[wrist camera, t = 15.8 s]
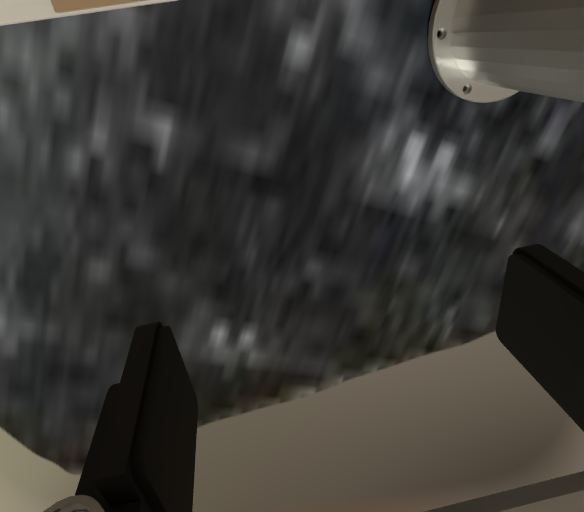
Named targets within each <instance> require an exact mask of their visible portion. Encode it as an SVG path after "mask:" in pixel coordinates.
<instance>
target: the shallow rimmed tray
mask: <svg viewBox="0 0 584 512" xmlns="http://www.w3.org/2000/svg"><path fill="white" fill-rule="evenodd" d="M170 1H177V0H0V26H3V25H10V24H17V23H24V22H31V21H38V20H45V19H52V18H59V17H66V16H73V15H80V14H87V13H94V12H101V11H108V10H114V9H121V8H128V7H135V6H142V5H149V4H156V3H163V2H170Z"/></svg>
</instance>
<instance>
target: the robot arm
mask: <svg viewBox="0 0 584 512" xmlns="http://www.w3.org/2000/svg"><path fill="white" fill-rule="evenodd" d="M438 31H439V36H438V37H437V32H438ZM428 47H429V56H430V60H431V64H432V67H433V70H434V72H435V74H436V76H437V78H438V80H439V81H440V82H441V83H442V84H443V86H444V87H445V88H446V89H447V90H448V91H450V92H451V93H452V94H454V95H455V96H457V97H460V98H462V99H464V100H468V101H473V102H482V103H488V102H494V101H499V100H502V99H505V98H507V97H510V96H512V95H514V94H515V93H517V92H519V91H523V92H529V93H534V94H540V95H546V96H551V97H557V98H562V99H568V100H574V101H579V102H584V0H435V3H434V5H433V9H432V13H431V17H430V22H429V31H428ZM463 87H464V89H463ZM496 334H497V336H498V339H499V340H500V341H501V343H502V344H503V345H504V346H505V347H506V348H507V349H508V350H509V351H510V352H511V354H512V355H513V356H514V357H515V358H516V359H517V360H518V361H519V362H520V363H521V364H522V365H523V366H524V367H525V369H526V370H527V371H528V372H529V373H530V374H531V375H532V376H533V377H534V378H535V379H536V381H537V382H538V383H539V384H540V385H541V386H542V387H543V388H544V389H545V390H546V391H547V392H548V393H549V395H550V396H551V397H552V398H553V399H554V400H555V401H556V402H557V403H558V404H559V405H560V406H561V407H562V409H564V411H565V412H566V413H567V414H568V415H569V416H570V417H571V418H572V419H573V420H574V422H575V423H576V424H577V425H578V426H579V427H580V428H581V429H582V430H583V431H584V272H583V271H581V270H580V269H578V268H577V267H575V266H573V265H572V264H570V263H569V262H567V261H566V260H564V259H563V258H561V257H559V256H558V255H556V254H555V253H553V252H552V251H550V250H549V249H547V248H545V247H544V246H542V245H540V244H535V245H530V246H526V247H521V248H517V249H515V250H514V252H513V254H512V255H510V257H509V258H508V263H507V268H506V274H505V280H504V285H503V291H502V297H501V302H500V308H499V314H498V319H497V325H496ZM197 416H198V403H197V397H196V394H195V391H194V389H193V386H192V383H191V381H190V378H189V375H188V373H187V370H186V367H185V365H184V362H183V360H182V357H181V354H180V352H179V349H178V346H177V344H176V341H175V338H174V336H173V333H172V330H171V328H170V327H169V326H165V327H163V326H162V324H161V323H160V322H156V323H151V324H147V325H142V326H138V327H136V329H135V332H134V336H133V339H132V343H131V346H130V350H129V353H128V357H127V360H126V364H125V367H124V371H123V374H122V378H121V381H120V383H118V384H114V385H112V386H111V387H110V388H109V390H108V392H107V395H106V398H105V401H104V404H103V407H102V411H101V414H100V417H99V420H98V423H97V427H96V430H95V433H94V436H93V439H92V442H91V446H90V449H89V452H88V455H87V458H86V462H85V465H84V468H83V471H82V474H81V478H80V481H79V484H78V487H77V490H76V494H75V496H70V497H68V498H65V499H63V500H60V501H58V502H56V503H55V504H53V505H52V506H51V507H49V508H48V509H46V510H45V511H43V512H192V505H193V488H194V470H195V469H194V468H195V452H196V434H197ZM425 512H584V471H583V472H579V473H575V474H571V475H567V476H563V477H559V478H555V479H551V480H547V481H543V482H539V483H536V484H531V485H527V486H523V487H519V488H515V489H511V490H508V491H504V492H500V493H496V494H492V495H488V496H484V497H480V498H476V499H473V500H469V501H465V502H461V503H457V504H453V505H449V506H445V507H441V508H437V509H433V510H429V511H425Z"/></svg>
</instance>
